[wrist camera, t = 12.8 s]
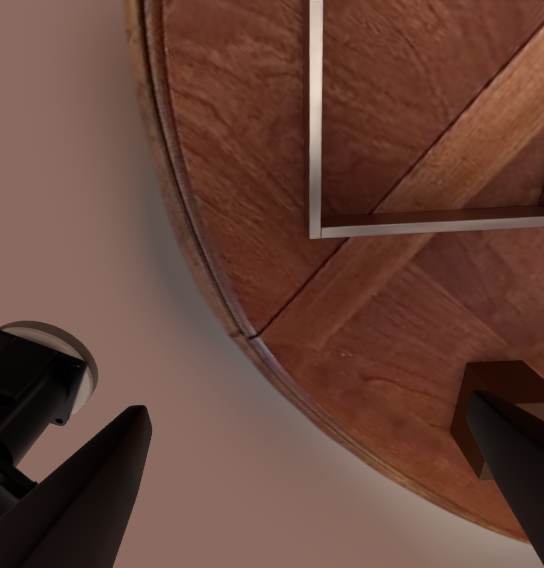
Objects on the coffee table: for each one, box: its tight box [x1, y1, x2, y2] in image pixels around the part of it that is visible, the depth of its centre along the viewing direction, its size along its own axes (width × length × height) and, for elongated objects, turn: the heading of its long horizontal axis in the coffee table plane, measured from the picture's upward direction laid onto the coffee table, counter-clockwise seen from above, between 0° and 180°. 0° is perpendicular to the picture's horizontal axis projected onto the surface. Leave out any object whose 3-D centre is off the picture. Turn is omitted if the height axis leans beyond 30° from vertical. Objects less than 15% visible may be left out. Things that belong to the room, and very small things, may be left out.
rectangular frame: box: [303, 0, 544, 239], centre depth 14 cm, size 19×14×2 cm
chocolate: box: [450, 361, 544, 480], centre depth 23 cm, size 7×4×4 cm, turn 3°
